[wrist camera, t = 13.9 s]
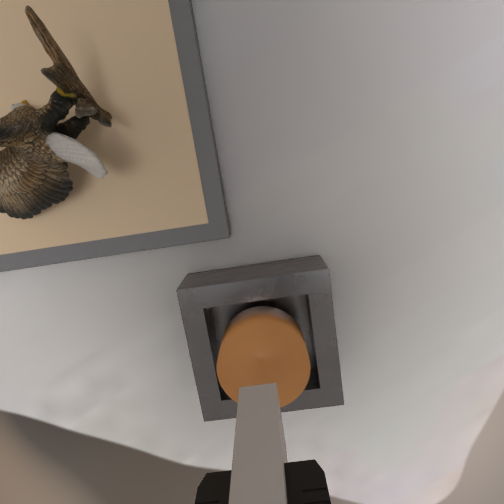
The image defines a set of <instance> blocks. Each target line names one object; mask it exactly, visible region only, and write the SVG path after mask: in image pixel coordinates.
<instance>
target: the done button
mask: <svg viewBox="0 0 504 504" xmlns="http://www.w3.org/2000/svg"><path fill="white" fill-rule="evenodd" d="M310 369H311V368H310V360H309V355H308V352H307V348H306V344H305V340H304V336H303V333H302V330H301V328H300V326H299V325H298V323H297V322H296V321H295V320H294V319H293V318H292V317H291V316H290V315H289V314H287V313H286V312H284V311H282V310H280V309H277V308H274V307H269V306H257V307H252V308H249V309H246V310H244V311H242V312H240V313H239V314H237V315H236V316H235V317H233V318H232V320H231V321H230V322H229V323H228V325H227V326H226V328H225V330H224V333H223V336H222V341H221V345H220V350H219V354H218V359H217V376H218V380H219V383H220V385H221V387H222V388H223V390H224V391H225V393H226V394H227V395H228V396H229V397H230V398H231V399H232V400H234V401H235V402H236V403H238V395H239V387H247V386H254V385H262V384H270V383H276V385H277V391H278V398H279V404H280V408H281V407H283V406H286V405H288V404H289V403H291V402H293V401H294V400H295V399H296V398H297V397H298V396H299V395H300V394H301V393H302V392H303V390H304V389H305V387H306V385H307V383H308V380H309V377H310Z"/></svg>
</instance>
